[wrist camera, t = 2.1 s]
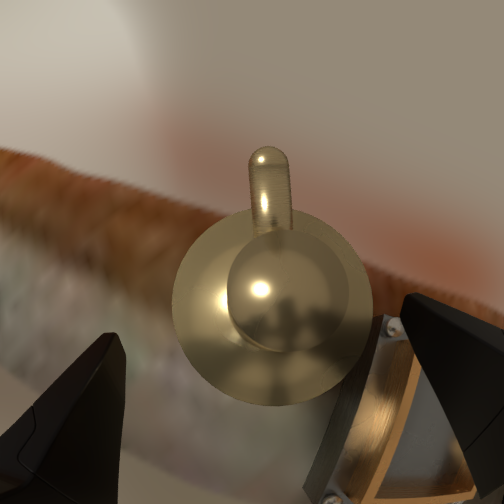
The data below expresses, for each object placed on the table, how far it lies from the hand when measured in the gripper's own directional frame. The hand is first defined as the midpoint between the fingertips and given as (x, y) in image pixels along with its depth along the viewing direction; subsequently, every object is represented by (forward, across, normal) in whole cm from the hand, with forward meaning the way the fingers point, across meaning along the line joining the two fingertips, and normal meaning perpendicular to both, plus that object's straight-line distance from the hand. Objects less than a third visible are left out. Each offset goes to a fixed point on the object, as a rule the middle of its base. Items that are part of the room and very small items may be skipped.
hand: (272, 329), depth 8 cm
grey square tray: (+1, -9, +11) cm, 14 cm away
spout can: (+6, 0, +6) cm, 8 cm away
